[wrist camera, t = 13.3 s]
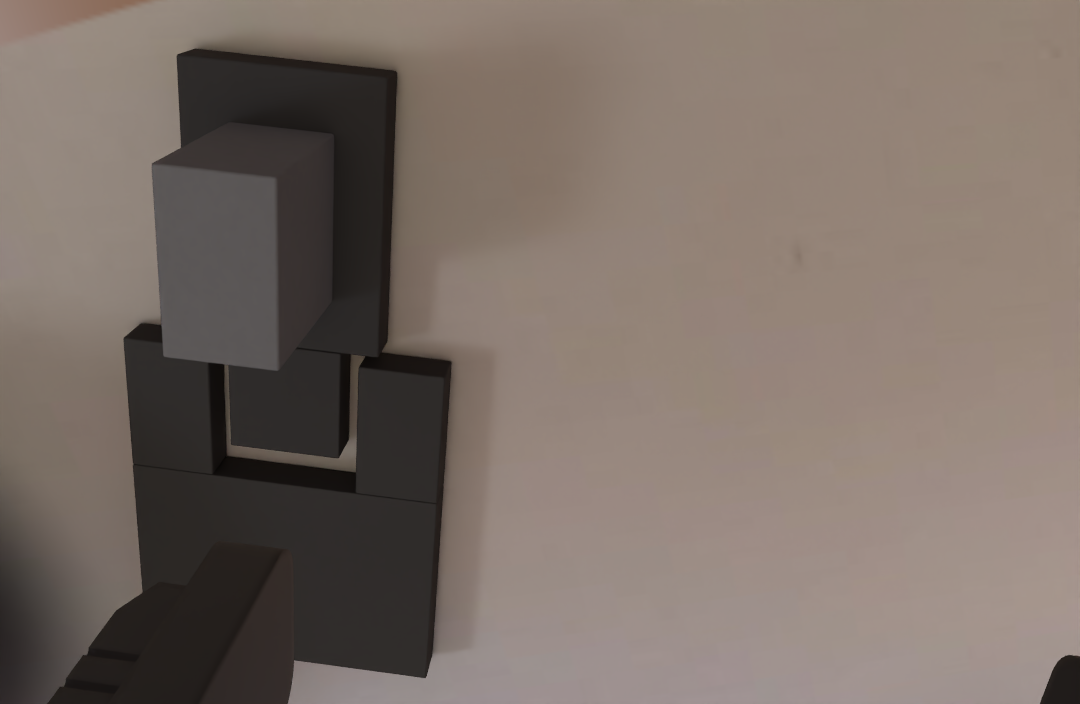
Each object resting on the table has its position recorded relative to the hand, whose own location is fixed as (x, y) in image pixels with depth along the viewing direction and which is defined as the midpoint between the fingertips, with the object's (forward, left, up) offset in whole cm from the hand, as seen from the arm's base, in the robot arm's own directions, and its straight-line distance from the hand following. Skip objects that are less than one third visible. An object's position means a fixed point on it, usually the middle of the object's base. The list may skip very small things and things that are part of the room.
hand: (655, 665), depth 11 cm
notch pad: (+16, -12, -26) cm, 33 cm away
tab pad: (+6, -12, -26) cm, 29 cm away
